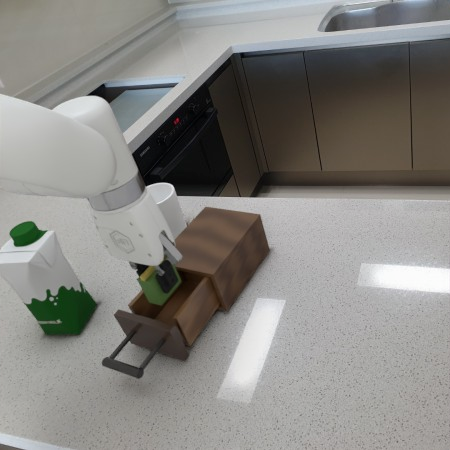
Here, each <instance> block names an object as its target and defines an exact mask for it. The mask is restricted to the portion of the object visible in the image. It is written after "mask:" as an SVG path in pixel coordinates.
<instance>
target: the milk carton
mask: <svg viewBox="0 0 450 450" xmlns="http://www.w3.org/2000/svg"><path fill="white" fill-rule="evenodd" d="M8 233H9V237H10V238H9V239H8V240H7V241H6V242H5V243H4V244H3V246H2V247H1V248H0V278H1V279H3V280H4V281H5V282H6V283H7V284H8V285H9V286H10V288H11V289H12V290H13V292H15V294H16V295H17V297H18V298H19V300H21V301H22V303H23V304H24V305H25V307H26V308H27V309H28V311H29V312H30V313H31V315H32V316H33V317H34V318H35V320H36V322H37V323H38V325H39V327H40V328H41V330H42V332H43V333H44V335H45V336H56V335H57V336H62V335H63V336H64V335H66V336H67V335H81V333H82V331H83V330H84V328H85V326H86V325H87V323H88V322H89V320H90V318H91V317H92V315H93V313H94V311H95V310H96V308H97V307H98V303H97V302H96V300H95V299H94V298H93V296H92V295H91V294H90V293H89V291H88V290H87V289H86V287H85V286H84V284H83V283H82V281H81V280H80V278H79V276H78V275H77V273H76V272H75V270H74V268H73V267H72V266H71V264H70V262H69V261H68V259H67V257H66V256H65V254H64V252H63V250H62V247H61V245H60V241H59V239H58V236H57V233H56V231H55V230H45V229H44V230H42V229H39V227H38V225H37V224H36V223H35V221H32V220H27V221H24V222H21V223H18V224H17V225H15V226H14V227H13V228H11V229H10V231H9V232H8Z"/></svg>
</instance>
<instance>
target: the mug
mask: <svg viewBox="0 0 450 450" xmlns="http://www.w3.org/2000/svg"><path fill="white" fill-rule="evenodd" d="M146 189H147V192H149V193H150V195H151V196H152V198H153V199H154V201H155V202H156V204H157V205H158V207H159V209H160V210H161V212H162V214H163V216H164V218H165V220H166V222H167V223H168V226H169V228H170V230H171V232H172V235H173V237H174V240H175V239H176V238H177V236H178V235H179V234H180V233H181V232H182V231H183V230H184V229H185V228H186V227H187V226H188V224H187V222H186V219H185V216H184V212H183V210H182V207H181V203H180V200H179V198H178V195H177V192H176V189H175V187H174V185H173V184H171V183H168V182H156V183H153V184H150V185H147V186H146Z"/></svg>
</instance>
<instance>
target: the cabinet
mask: <svg viewBox="0 0 450 450" xmlns="http://www.w3.org/2000/svg"><path fill="white" fill-rule="evenodd" d="M175 248H176V249H177V250H178V251H179V252H180V253H181V254H182V256H183V259H182V260H181V261H180V262H179V263H178V264H176V265H175V267H176V270H180V271H184V272H189V273H194V274H198V275H203V276H207V277H211V280H212V282H213V285H214V287H215V290H216V292H217V295H218V297H219V300H220V303H221V304H220V305H219V307H218V308H217V310H218V311H222V312H229V311H230V309H231V308H232V307H233V305H234V303H235V302H236V300H237V299H238V297H239V296H240V294H241V293H242V292H243V290H244V289H245V288H246V286H247V285H248V283H249V282H250V280H251V279H252V277H253V276H254V274H255V273H256V271H258V269H259V267H260V266H261V264H262V263H263V261H264V260H265V258H266V257H267V256H268V254H269V253H270V251H271V249H270V246H269V242H268V238H267V234H266V231H265V227H264V223H263V219H262V215H261V214H260V213H254V212H247V211H240V210H232V209H226V208H218V207H213V206H211V207H210V206H205V207H203V209H202V210H201V211H200V212H198V214H197V215H196V216H195V217H194V218H193V219H192V220H191V221H190V222H189V223H188V224H187V227H186V228H185V229H184V230H183V231H182V232H181V233H180V234H179V235H178V236H177V238H176V239H175Z"/></svg>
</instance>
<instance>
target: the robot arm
mask: <svg viewBox="0 0 450 450" xmlns="http://www.w3.org/2000/svg"><path fill="white" fill-rule="evenodd" d="M146 187H147V186H146V184H145V182H144V179H143V177H142V174H141V173H140V170H139V168H138V165H137V163H136V161H135V159H134V156H133V154H132V152H131V150H130V148H129V145H128V143H127V141H126V138H125V136H124V134H123V132H122V129H121V127H120V124H119V123H118V119H117V118H116V116H115V113H114V111H113V109H112V107H111V105H110V103H109V102H108V101H107V100H106V99H104V98H103V97H101V96H98V95H84V96H83V95H82V96H78V97H75V98H71V99H69V100H66V101H64V102H62V103H59V104H58V105H57V106H55V107H54V108H52V109H50V108H48V107H45V106H42V105H39V104H35V103H33V102H30V101H27V100H24V99H21V98H17V97H13V96H10V95H7V94H2V93H0V189H1V190H3V191H6V192H9V193H12V194H16V195H23V196H37V197H54V198H55V197H57V198H70V199H81V200H82V199H84V200H85V199H86V200H87V201H88V208H89V210H90V215H91V218H92V220H93V224H94V226H95V228H96V231H97V233H98V235H99V237H100V239H101V241H102V244H103V245H104V247H105V249H106V251H107V253H108V254H109V255H110V257H113V258H114V259H117V260H120V261H121V260H122V261H125V262H128V263H129V266H130V268H131V269H132V270H134V271H135V272H136V274H137V276H138V278H139V277H140V276H141V274H142V273H143V272H144V271H145V270H146V269H147V268H148V267H149V266H153V267H154V269H155V271H156V272H157V274H156V279H157V281H158V283H159V285H160V287H161V289H162V291H163V293H166V294H168V293H169V292H170V291H171V289H172V288H173V287H174V286H175V285H176V283H177V282H178V278H177V275H176V273H175V271H174V269H173V267H172V266H173V265H176V264H178V263H179V262H180V261H181V260H182V259H183V256H182V254H181V253H180V252H179V251H178V250H177V249H176V248H175V240H174V237H173V235H172V232H171V230H170V228H169V226H168V223H167V222H166V220H165V218H164V216H163V214H162V212H161V210H160V209H159V207H158V205H157V204H156V202H155V201H154V199H153V198H152V196H151V195H150V193H149V192H147V189H146ZM163 259H164V262H163V263H162V264H160V263H161V262H162V261H163Z"/></svg>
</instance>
